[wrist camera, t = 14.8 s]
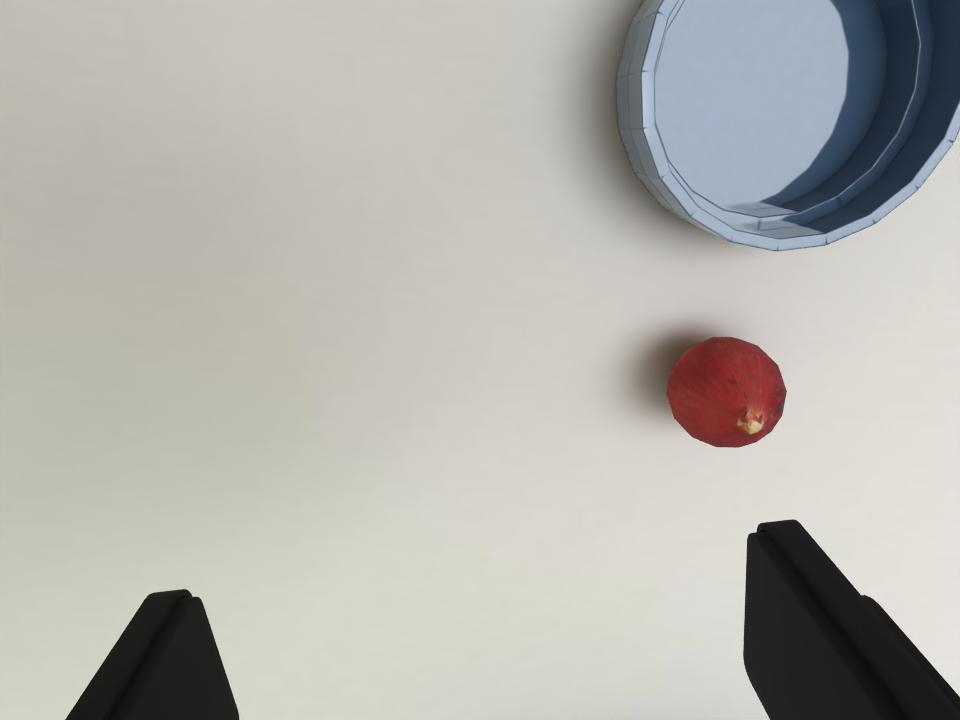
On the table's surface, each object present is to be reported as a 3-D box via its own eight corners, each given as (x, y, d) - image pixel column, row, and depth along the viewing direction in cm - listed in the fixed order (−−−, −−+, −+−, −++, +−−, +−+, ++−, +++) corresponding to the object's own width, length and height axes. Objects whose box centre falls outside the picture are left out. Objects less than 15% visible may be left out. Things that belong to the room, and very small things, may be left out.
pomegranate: (756, 320, 37) (832, 370, 30) (742, 411, 39) (809, 480, 31) (656, 320, 37) (706, 370, 29) (646, 412, 39) (691, 481, 31)
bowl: (609, -66, 30) (636, -100, 26) (925, -106, 30) (1011, -148, 25) (621, 248, 35) (645, 267, 31) (891, 215, 35) (958, 229, 30)
